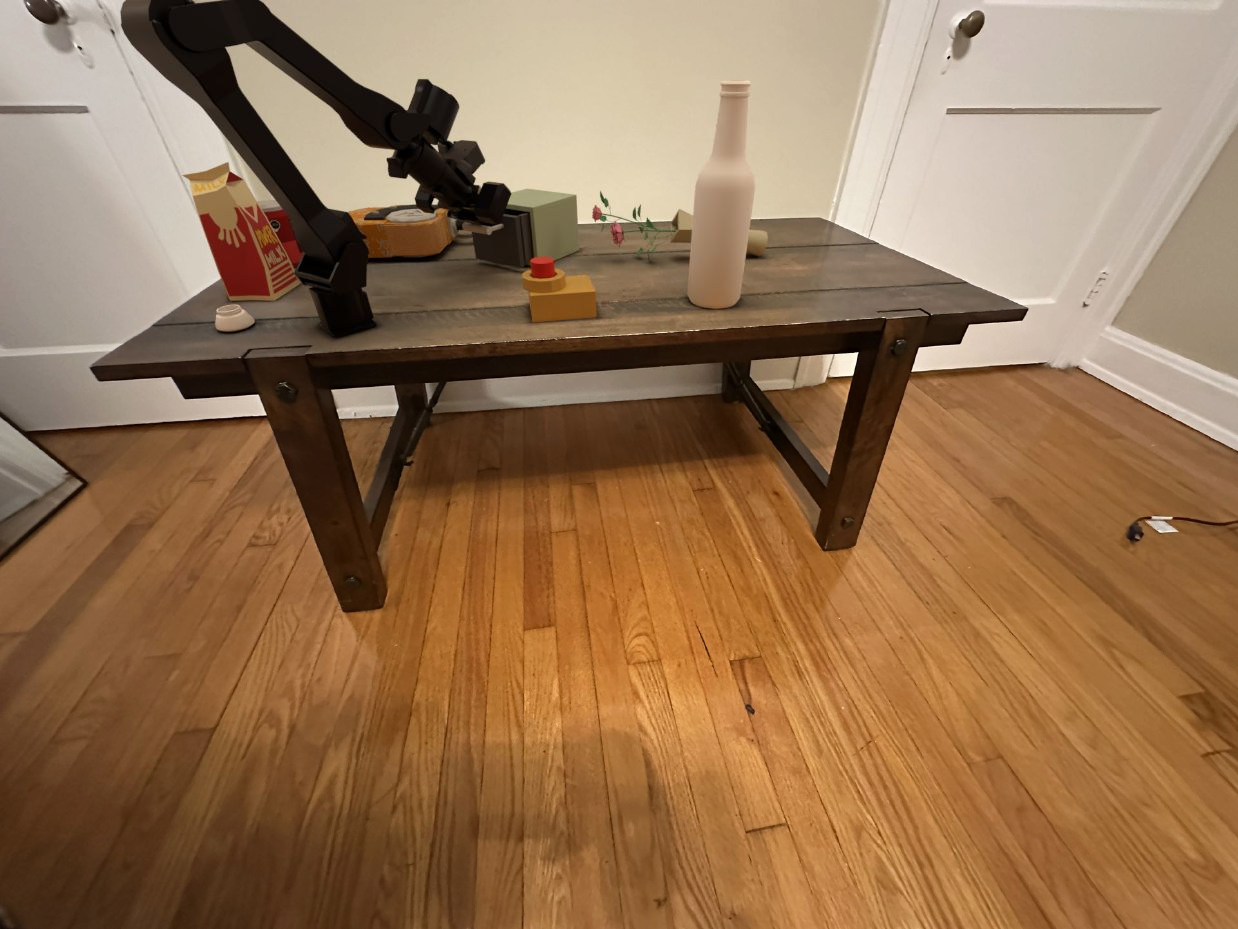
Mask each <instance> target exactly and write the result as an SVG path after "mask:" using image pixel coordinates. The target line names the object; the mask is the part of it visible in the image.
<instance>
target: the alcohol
mask: <svg viewBox="0 0 1238 929" xmlns="http://www.w3.org/2000/svg"><path fill="white" fill-rule="evenodd" d="M751 85H752V83H751V81H750V80H746V79H745V80H744V79H743V80H739V79H738V80H737V79H736V80H734V79H732V80H731V79H730V80H729V79H728V80H727V79H726V80H722V82H720V86H721V91H720V93H719V97H720V100H719V105H718V106H719V107H718V113H717V118H716V125H715V132H714V139H713V145H712V151H711V154H710V156H709V159H708V160H707V162H706V163H705V164H704V165H703V167H702V168H701V170H700V171H699V173H698V175H697V179H696V181H695V186H694V197H693V198H694V199H693V201H694V202H693V211H692V212H693V213H692V215H693V224H692V237H691V243H690V251H689V267H688V279H687V290H686V291H687V293H686V295H687V297H688V299H689V301H690V303H692V304H693V305H695V306H696V307H700V308H705V309H713V310H715V309H717V310H718V309H726V308H731V307H733V306H735V305H736V304H737V303H738V301H739V300H740V299H741V295H742V286H743V279H744V272H745V266H746V265H745V264H746V259H747V258H746V257H747V253H746V251H747V243H748V236H749V229H750V227H751V221H752V214H753V205H754V200H755V199H754V198H755V191H756V181H755V174H754V171H753V169H752V167H751V166H750V163H749V162H748V160H747V154H746V144H747V124H748V106H749V97H750V95H751V94H750V87H751ZM750 230H751V229H750Z"/></svg>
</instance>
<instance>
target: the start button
mask: <svg viewBox="0 0 1238 929" xmlns="http://www.w3.org/2000/svg"><path fill="white" fill-rule="evenodd" d="M530 263H531V266H530V270H531V273H532V277H533V278H538V279H545V278H551V277H554V276H555V261H554V259H553V258H551V257H536V258H533V259H531V260H530Z"/></svg>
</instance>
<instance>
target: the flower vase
mask: <svg viewBox="0 0 1238 929" xmlns="http://www.w3.org/2000/svg"><path fill="white" fill-rule="evenodd" d="M599 197H600V201H601V202H602V204H603V205H604V207H605V208H606V209H607V208H608V209H609V210H611V205H610V204H609V200H608V198H607V197H604V195H603V192H602V191H601V190H600V191H599ZM641 211H642V204H639V206H638V207H636V206H635V207H634V208H633V210H632V218H633V220H635V221H633V220H631V219H627V218H624V217H621V216H617V215H613V214H611V211H609V214H608V213H603V212H602V210H601V208H600V207H598V205H597V204H595V205H594V207H593V208H592V212H591V213H592V217H591V219H593V220H594V222H595V223H597V221H599V220H600V221H601V222H603V223H602V226H601V229H600V232H603V231H604V228H606V227H608V226H610V233H611V235H612V241H613V244H614V245H616V246H617V247H619V248H621V244H622V243H623V241H625V242H626V243H627V241H626V240H625V233H634V232H640V234H642V233H644V232H645V233H644V237H643V238H644V239H643V240H645V241H646V240H648V239H650V237H649V235H648V232H657V233H656V234H655V235H654V236H653V237H652V238H651V240H650V241H649V242H648V244H647V245H646V247H645V248H644V249H643V247H642V246H641V247H640V248H639V249H638V251H637V254H636V258H639V256H640V255H641V254H642V253H643V251H644V250H645V249H646V248H647V247H648V246H650V247H649V248H648V249H647V258H648V261H649V263H650V264H652V263H651V262H652V261H651V259H650V256H652V255H653V253H654V252H655V250H656V249H657V247H658V246H660V243H657V244H655V245H654V243H655V242H654V241H655V240H656V239H658V237H657V235H659V233H661V232H662V233H670V234H669V235H666V236H665V238H666V239H665V241H667V239H668V237H669V236H670V243H671V244H680V243H681V244H691V237H692V224H693V214H691V213H689V212H687V211H685V210H683V209H681V208H679V209H678V210H677V211H676V213H675V215H674V217H673V218H672V220H671V221H670V229H659V228H657V227H656V226H655V224H654V223H653V222H652V221H651V220H650V218H648V216H647V217H646V220H645V224H644V223H642V221H639V220H637V216H638V218H639V219H640V220H642V218H641ZM607 216H608V217H612V218H616V219H615V220H614V221H611V220H608V219H607ZM619 220H623V221H627V222H630V223H633V224H636V225H638V227H637V228H638V229H632V230H631V229H630V230H624V229H623V226H622V224H621V222H620V223H618V222H617V221H619ZM606 221H607V222H611V223H610V224H607V225H604V223H605V222H606ZM662 238H664V236H660V237H659V239H662ZM665 241H663V242H662V244H663V243H665ZM768 241H769V240H768V232H767V231H765V230H761V229H760V230H758V229H749V236H748V243H747V251H746V254H748V255H751V256H755V257H760V256H762V254H764V252H765V250H766V249H767V248H766V247H767V244H768ZM653 246H654V247H653ZM651 247H653V248H652V251H651V253H650V249H651Z"/></svg>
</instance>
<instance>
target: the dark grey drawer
mask: <svg viewBox="0 0 1238 929" xmlns="http://www.w3.org/2000/svg"><path fill="white" fill-rule="evenodd" d="M462 227H463V230H462V231H465V232H470V233H471V236H472V243H473V249H474V255H475V256H474V257H475V259H476V260H481V261H485V262H491V263H496V264H499V265H500V264H501V265H504V266H510V267H514V268H519V269H521V268H525V266H526V265H525V264H524V262H527V261H530V260H531V259H533V258H534V250H533V240H532V230H531V219H530V212H525V211H518V210H512V209H506V210H505V212H504V215H503V217H502V220H501V222H500V223H499V224H497V225H496V224H493V226H492V227H490V226H484V225H478V224H472V223H466V222H464V223H463V225H462Z"/></svg>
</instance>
